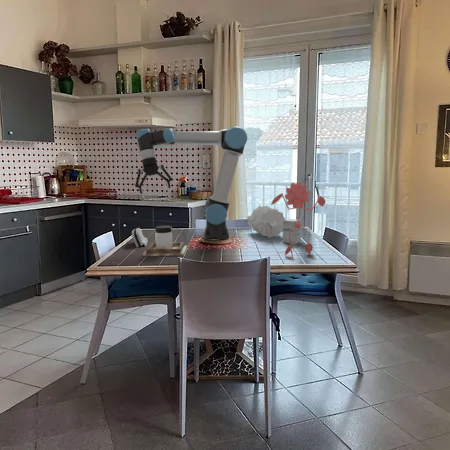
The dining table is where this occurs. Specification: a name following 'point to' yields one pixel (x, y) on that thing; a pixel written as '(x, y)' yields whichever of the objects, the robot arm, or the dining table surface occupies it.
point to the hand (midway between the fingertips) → (156, 196)
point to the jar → (163, 237)
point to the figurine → (297, 198)
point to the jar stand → (166, 250)
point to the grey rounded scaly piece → (266, 221)
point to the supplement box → (294, 234)
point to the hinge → (139, 237)
